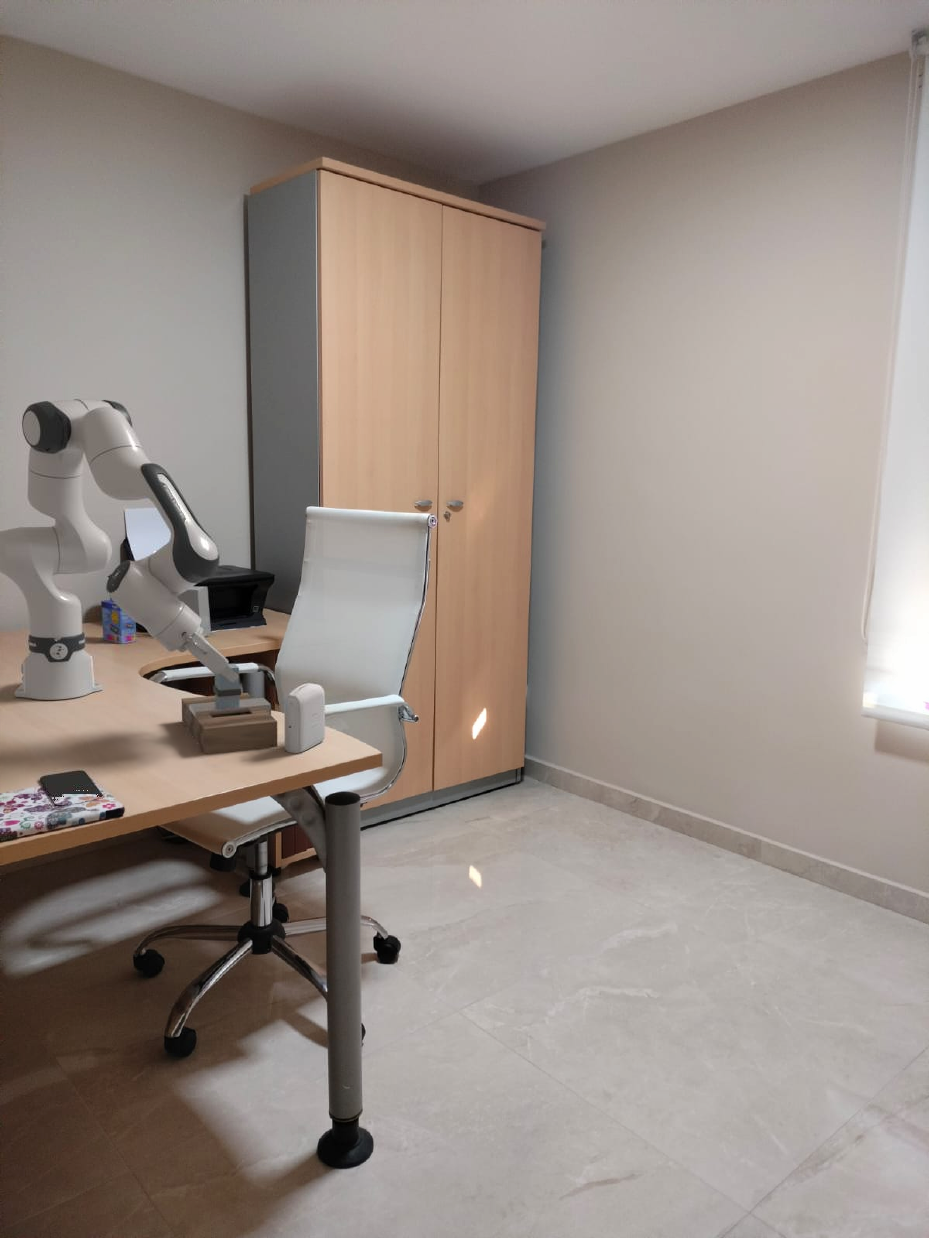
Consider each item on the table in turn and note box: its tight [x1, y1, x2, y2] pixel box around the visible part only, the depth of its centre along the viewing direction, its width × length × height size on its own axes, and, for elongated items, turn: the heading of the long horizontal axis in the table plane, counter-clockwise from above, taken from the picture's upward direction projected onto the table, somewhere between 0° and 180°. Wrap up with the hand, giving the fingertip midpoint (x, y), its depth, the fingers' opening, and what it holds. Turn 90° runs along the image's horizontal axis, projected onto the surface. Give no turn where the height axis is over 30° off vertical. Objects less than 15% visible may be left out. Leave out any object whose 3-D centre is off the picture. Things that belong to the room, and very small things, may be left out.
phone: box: [39, 769, 104, 801], centre depth 151 cm, size 7×1×15 cm
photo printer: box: [283, 683, 326, 754], centre depth 177 cm, size 10×4×12 cm, turn 158°
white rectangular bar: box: [189, 697, 272, 717], centre depth 184 cm, size 6×15×4 cm, turn 117°
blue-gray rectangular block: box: [212, 663, 242, 708], centre depth 183 cm, size 5×5×8 cm
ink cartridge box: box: [100, 599, 137, 645], centre depth 273 cm, size 10×6×14 cm, turn 54°
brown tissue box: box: [181, 692, 278, 755], centre depth 184 cm, size 24×14×5 cm, turn 27°
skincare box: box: [178, 586, 212, 638], centre depth 283 cm, size 8×7×16 cm
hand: (230, 674), depth 183 cm, fingers open, 8 cm apart
